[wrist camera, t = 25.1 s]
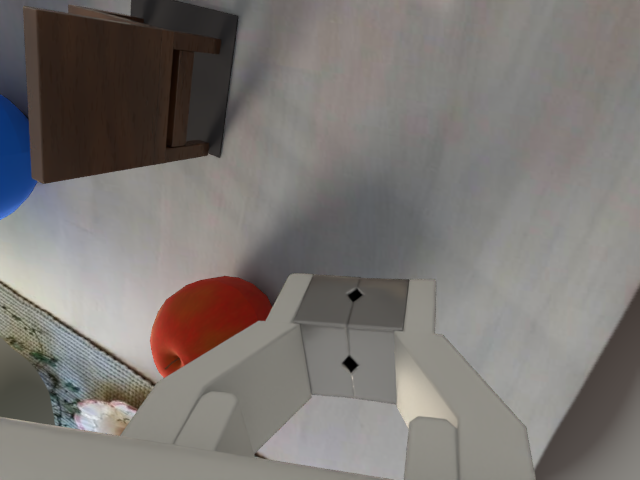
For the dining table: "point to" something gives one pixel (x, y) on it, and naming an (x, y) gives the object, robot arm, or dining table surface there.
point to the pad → (199, 62)
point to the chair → (107, 92)
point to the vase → (14, 158)
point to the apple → (204, 319)
